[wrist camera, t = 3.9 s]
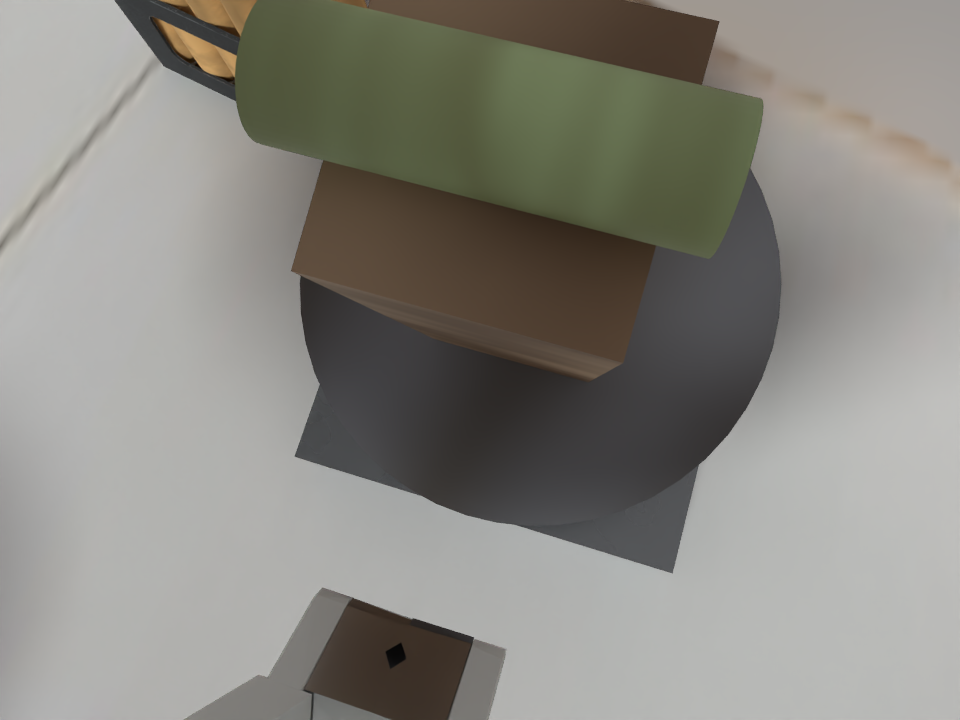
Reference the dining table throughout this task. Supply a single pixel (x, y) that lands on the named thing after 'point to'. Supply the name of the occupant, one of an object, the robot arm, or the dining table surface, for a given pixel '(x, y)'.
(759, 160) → the dining table surface
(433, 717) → the robot arm
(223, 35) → the ammunition clip
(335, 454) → the stand
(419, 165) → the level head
